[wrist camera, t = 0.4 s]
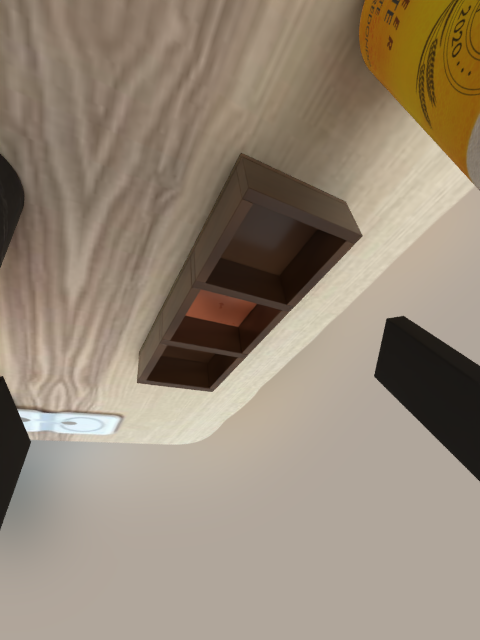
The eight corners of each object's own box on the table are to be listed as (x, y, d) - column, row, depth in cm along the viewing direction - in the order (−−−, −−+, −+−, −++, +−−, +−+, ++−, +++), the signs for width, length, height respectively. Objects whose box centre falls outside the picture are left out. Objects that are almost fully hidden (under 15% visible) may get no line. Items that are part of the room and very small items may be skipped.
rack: (241, 152, 22) (248, 187, 19) (346, 201, 26) (363, 235, 23) (139, 352, 39) (136, 383, 37) (210, 363, 43) (212, 392, 41)
